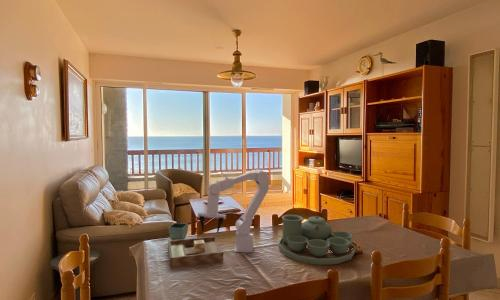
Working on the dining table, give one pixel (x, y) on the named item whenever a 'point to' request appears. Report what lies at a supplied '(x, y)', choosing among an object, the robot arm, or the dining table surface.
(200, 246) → the maple block
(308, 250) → the tea set
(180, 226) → the flower pot
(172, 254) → the walnut box
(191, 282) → the dining table surface
